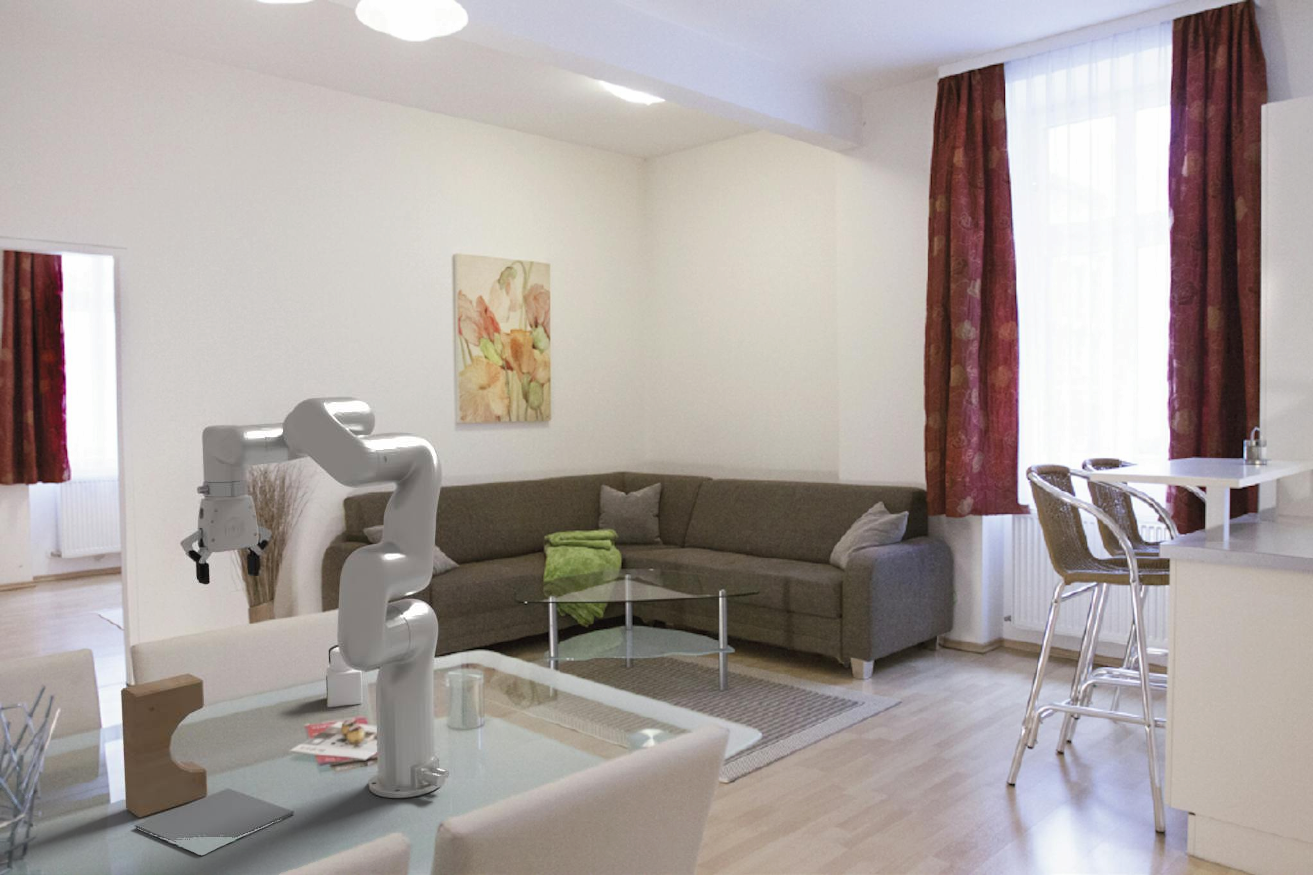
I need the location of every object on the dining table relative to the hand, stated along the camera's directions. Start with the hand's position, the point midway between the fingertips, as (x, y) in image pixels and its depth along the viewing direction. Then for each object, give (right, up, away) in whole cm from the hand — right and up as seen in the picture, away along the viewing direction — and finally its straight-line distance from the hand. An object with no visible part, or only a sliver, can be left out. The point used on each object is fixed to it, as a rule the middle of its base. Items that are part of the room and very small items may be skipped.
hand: (229, 579), depth 190 cm
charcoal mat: (+12, -33, -34) cm, 49 cm away
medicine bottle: (+15, -30, +24) cm, 41 cm away
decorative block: (+1, -33, -27) cm, 43 cm away
